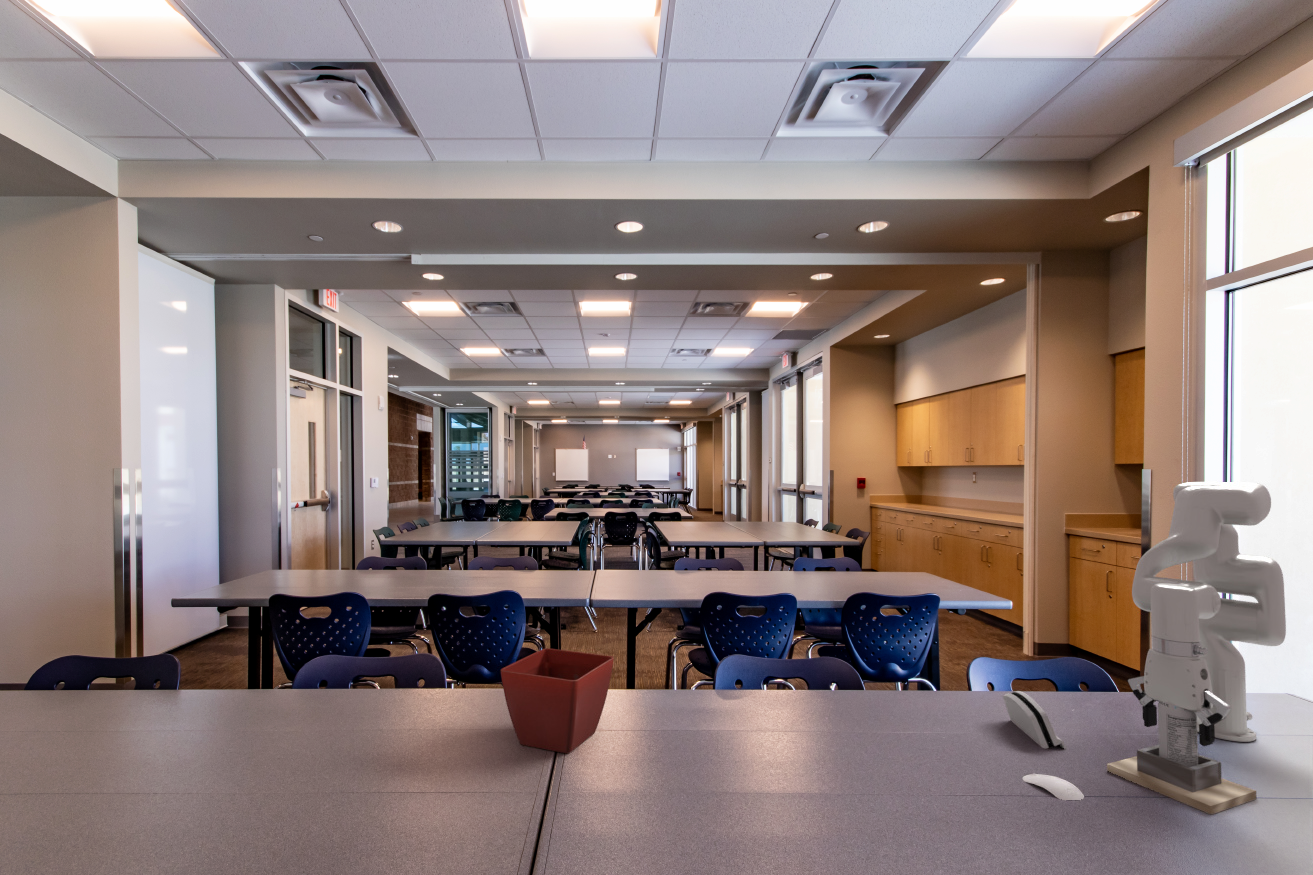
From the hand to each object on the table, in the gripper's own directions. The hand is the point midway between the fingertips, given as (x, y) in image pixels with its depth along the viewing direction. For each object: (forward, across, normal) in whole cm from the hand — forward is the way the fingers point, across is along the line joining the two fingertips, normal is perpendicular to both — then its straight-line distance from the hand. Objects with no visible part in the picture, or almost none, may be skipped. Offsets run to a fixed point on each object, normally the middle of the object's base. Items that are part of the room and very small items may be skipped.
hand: (1177, 734), depth 128 cm
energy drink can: (+8, 0, 0) cm, 8 cm away
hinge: (+10, +28, +4) cm, 30 cm away
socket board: (+10, 0, 0) cm, 10 cm away
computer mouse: (+10, +9, +25) cm, 28 cm away
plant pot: (+10, +66, +108) cm, 127 cm away
